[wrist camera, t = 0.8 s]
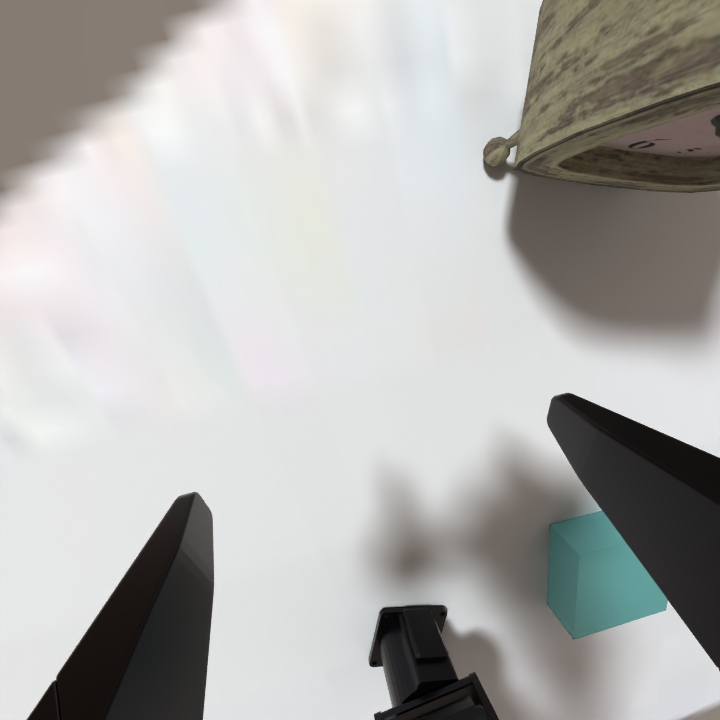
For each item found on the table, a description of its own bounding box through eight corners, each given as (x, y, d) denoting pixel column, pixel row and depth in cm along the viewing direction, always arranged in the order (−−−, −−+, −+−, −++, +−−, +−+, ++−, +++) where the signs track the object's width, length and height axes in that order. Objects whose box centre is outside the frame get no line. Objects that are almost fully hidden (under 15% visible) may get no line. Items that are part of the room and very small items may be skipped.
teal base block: (629, 575, 39) (665, 610, 35) (544, 600, 38) (573, 639, 34) (639, 497, 36) (680, 526, 32) (547, 522, 35) (579, 554, 31)
